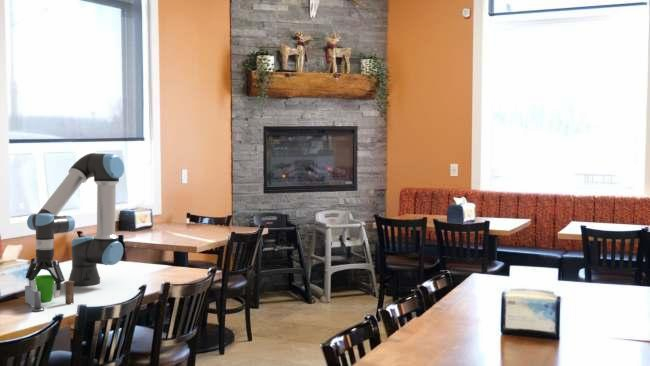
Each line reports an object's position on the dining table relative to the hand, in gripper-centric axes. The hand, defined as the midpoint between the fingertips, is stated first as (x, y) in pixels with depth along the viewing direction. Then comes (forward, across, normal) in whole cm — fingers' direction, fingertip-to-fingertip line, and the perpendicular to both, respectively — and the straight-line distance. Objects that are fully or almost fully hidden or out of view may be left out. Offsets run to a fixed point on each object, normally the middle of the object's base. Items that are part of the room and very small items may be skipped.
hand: (45, 296), depth 343 cm
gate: (+1, +4, -11) cm, 12 cm away
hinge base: (+2, +10, -15) cm, 18 cm away
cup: (+2, 0, 0) cm, 3 cm away
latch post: (+2, +13, +1) cm, 13 cm away
